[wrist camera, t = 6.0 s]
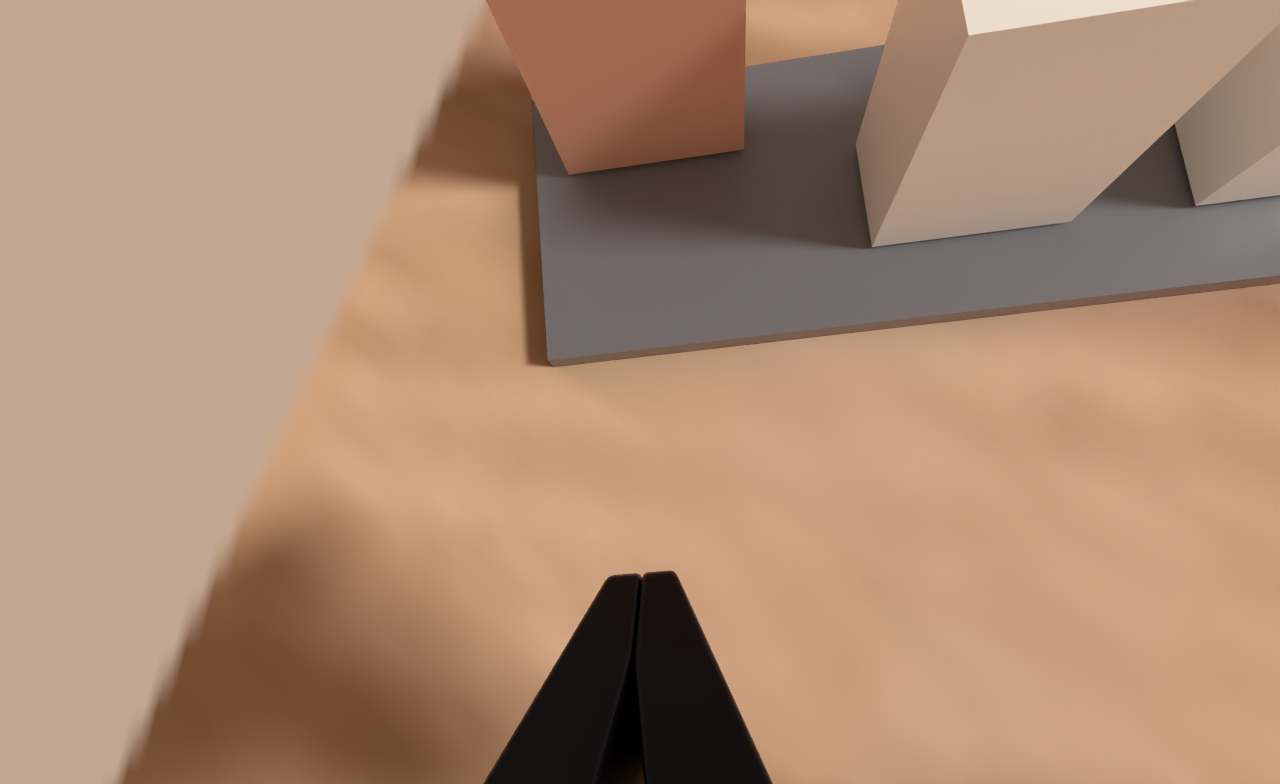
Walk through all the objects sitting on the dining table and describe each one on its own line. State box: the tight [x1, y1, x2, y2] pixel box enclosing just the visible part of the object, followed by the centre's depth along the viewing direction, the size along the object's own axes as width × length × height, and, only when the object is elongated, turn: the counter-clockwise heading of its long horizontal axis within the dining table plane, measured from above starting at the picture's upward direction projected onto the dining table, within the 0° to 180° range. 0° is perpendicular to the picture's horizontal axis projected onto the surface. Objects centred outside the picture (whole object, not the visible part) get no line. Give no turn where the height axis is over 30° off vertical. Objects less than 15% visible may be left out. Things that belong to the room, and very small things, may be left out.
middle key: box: [856, 0, 1280, 247], centre depth 15 cm, size 3×5×8 cm, turn 95°
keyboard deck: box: [532, 45, 1280, 367], centre depth 20 cm, size 8×23×1 cm, turn 95°
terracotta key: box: [486, 0, 746, 175], centre depth 17 cm, size 3×5×8 cm, turn 95°
